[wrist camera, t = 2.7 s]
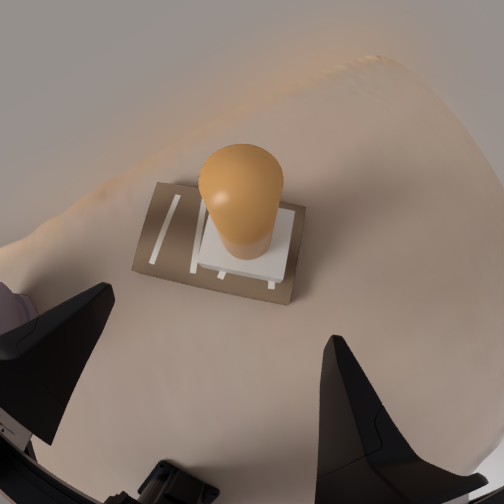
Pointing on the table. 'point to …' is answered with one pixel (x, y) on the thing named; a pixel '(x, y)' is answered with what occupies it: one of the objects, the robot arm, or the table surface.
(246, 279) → the walnut board
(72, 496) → the robot arm
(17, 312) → the grey stacked rounded piece
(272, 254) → the rubber stamp
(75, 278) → the table surface
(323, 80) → the table surface
